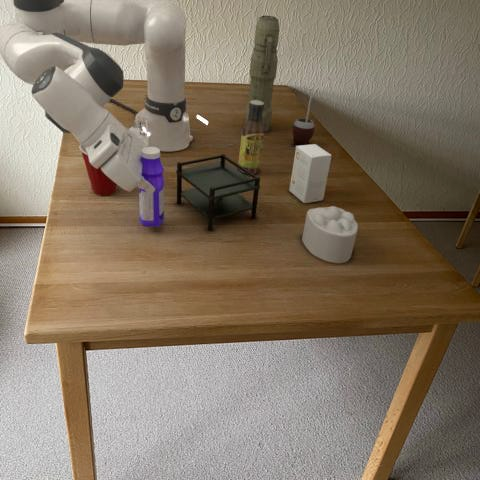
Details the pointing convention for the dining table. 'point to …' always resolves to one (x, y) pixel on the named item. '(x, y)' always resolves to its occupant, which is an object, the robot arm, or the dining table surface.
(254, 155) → the sauce bottle
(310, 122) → the mate gourd
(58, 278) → the dining table surface
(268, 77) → the stone statue
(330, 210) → the lumpy-topped squat cylinder
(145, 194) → the bottle
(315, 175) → the small box
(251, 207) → the tray
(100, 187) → the plastic cup
